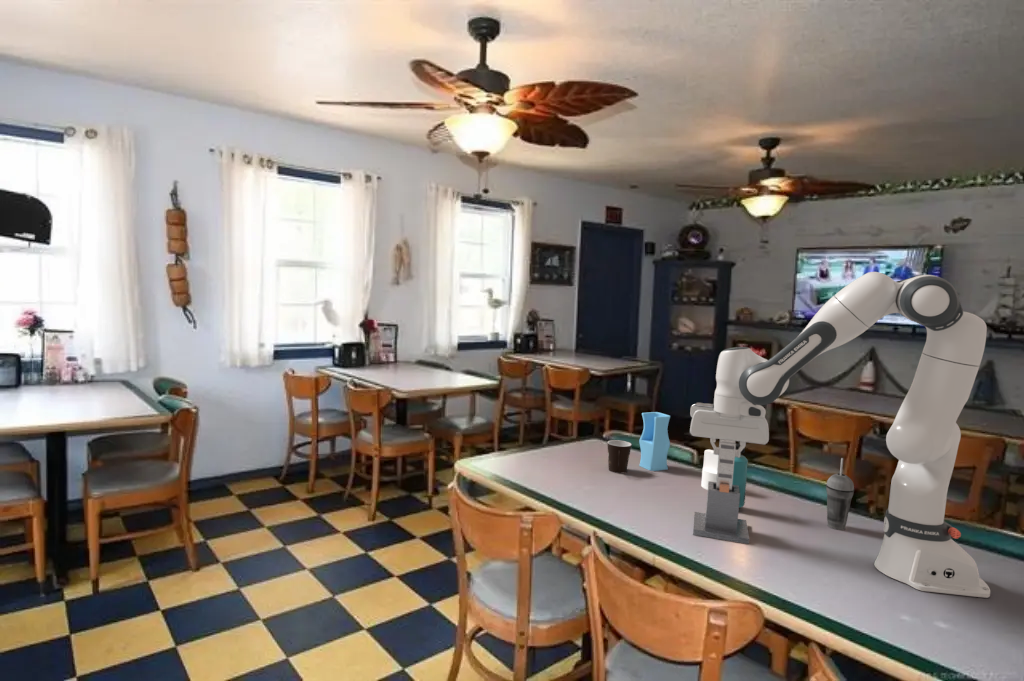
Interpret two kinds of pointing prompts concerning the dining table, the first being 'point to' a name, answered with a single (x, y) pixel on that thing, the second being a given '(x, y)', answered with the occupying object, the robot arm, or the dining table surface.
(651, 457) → the vase
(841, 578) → the dining table surface
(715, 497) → the stand
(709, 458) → the white cylinder
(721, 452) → the column
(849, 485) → the beverage cup
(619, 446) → the coffee mug
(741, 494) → the beverage bottle
